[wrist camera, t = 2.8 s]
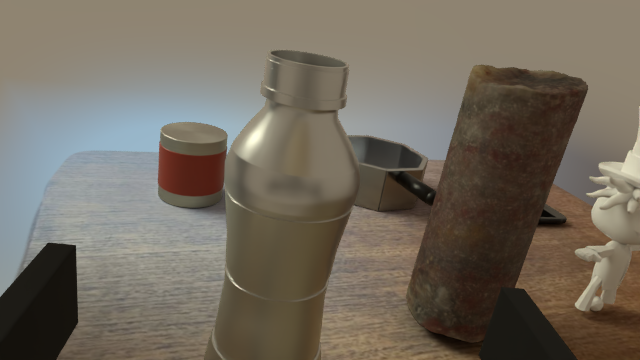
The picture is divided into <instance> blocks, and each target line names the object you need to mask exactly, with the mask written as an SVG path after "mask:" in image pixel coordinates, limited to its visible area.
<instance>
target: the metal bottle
mask: <svg viewBox="0 0 640 360" xmlns="http://www.w3.org/2000/svg"><path fill="white" fill-rule="evenodd" d="M348 68H349V65H348V64H347V63H345V62H343V61H341V60H338V59H335V58H331V57H327V56H323V55H318V54H312V53H307V52H300V51H290V50H270V51H268V52H267V56H266V64H265V73H264V80H263V81H262V83H261V90H260V92H261V94H262V95H263V96H264V97H266V98H267V99H266V102H265V106H264V107H263V108H262V109H261V110H260V111H259V112H258V113H257V114H256V115H255V116H254V117H253V118H252V120H251V121H250V122H249V123H248V124H247V125H246V126H245V127H244V129H243V130H242V131H241V132H240V134H239V135H238V136H237V137H236V139H235V140H234V142H233V143H232V145H231V148H230V150H229V152H228V155H227V157H226V159H225V172H224V184H225V203H226V223H227V240H226V264H225V278H224V284H223V289H222V294H221V299H220V303H219V308H218V313H217V318H216V322H215V325H214V328H213V330H212V333H211V335H210V338H209V341H208V345H207V349H206V352H205V356H204V360H321V345H320V335H321V326H322V316H323V307H324V297H325V293H326V289H327V286H328V282H329V277H330V274H331V271H332V267H333V263H334V259H335V255H336V252H337V248H338V245H339V243H340V240H341V238H342V235H343V232H344V230H345V227H346V224H347V222H348V219H349V216H350V214H351V211H352V208H353V205H354V203H355V201H356V198H357V194H358V190H359V187H360V184H361V183H360V172H359V163H358V159H357V157H356V154H355V152H354V149H353V147H352V144H351V142H350V140H349V138H348V136H347V134H346V133H345V131H344V129H343V127H342V125H341V123H340V121H339V119H338V110H339V109H342V108H344V107H345V106H346V100H347V95H346V94H345V92H346V86H347V80H348V74H349V69H348Z"/></svg>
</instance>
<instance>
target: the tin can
mask: <svg viewBox="0 0 640 360" xmlns="http://www.w3.org/2000/svg"><path fill="white" fill-rule="evenodd" d="M226 152H227V133H226V132H225V131H224V130H222V129H220V128H218V127H215V126H212V125H208V124H202V123H194V122H179V123H172V124H168V125H165V126H163V127H162V128H161V135H160V144H159V169H158V195H159V197H160V198H161V199H162V200H163V201H165V202H166V203H169V204H171V205H175V206H179V207H185V208H201V207H207V206H211V205H214V204H216V203H218V202H219V201H220V200H221V198H222V190H223V186H224V172H225V159H226Z"/></svg>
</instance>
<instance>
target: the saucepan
mask: <svg viewBox="0 0 640 360" xmlns="http://www.w3.org/2000/svg"><path fill="white" fill-rule="evenodd" d="M347 136H348V138H349V140H350V142H351V144H352V147H353V149H354V152H355V154H356V157H357V159H358V163H359V172H360V183H361V184H360V187H359V190H358V194H357V198H356V201H355V203H354V205H358V206H361V207H365V208H368V209H372V210H375V211H389V210H402V209H413V208H414V206H415V203H416V201H417V199H418V198H419V199H421V200H422V201H424V202H425V203H426V204H428V205H430V206H433V202H434V199H435V196H436V191H434V190H433V189H431V188H430V187H428V186H427V185H425V184H424V183H422V181H423V177H424V174H425V170H426V166H427V162H428V158H427V157H425V156H424V155H422V154H420V153H419V152H417V151H415V150H414V149H412V148H410V147H409V146H407V145H404V144H402V143H397V142H393V141H389V140H385V139H381V138H377V137H373V136H360V135H355V136H354V135H353V136H352V135H351V136H350V135H347Z"/></svg>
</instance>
